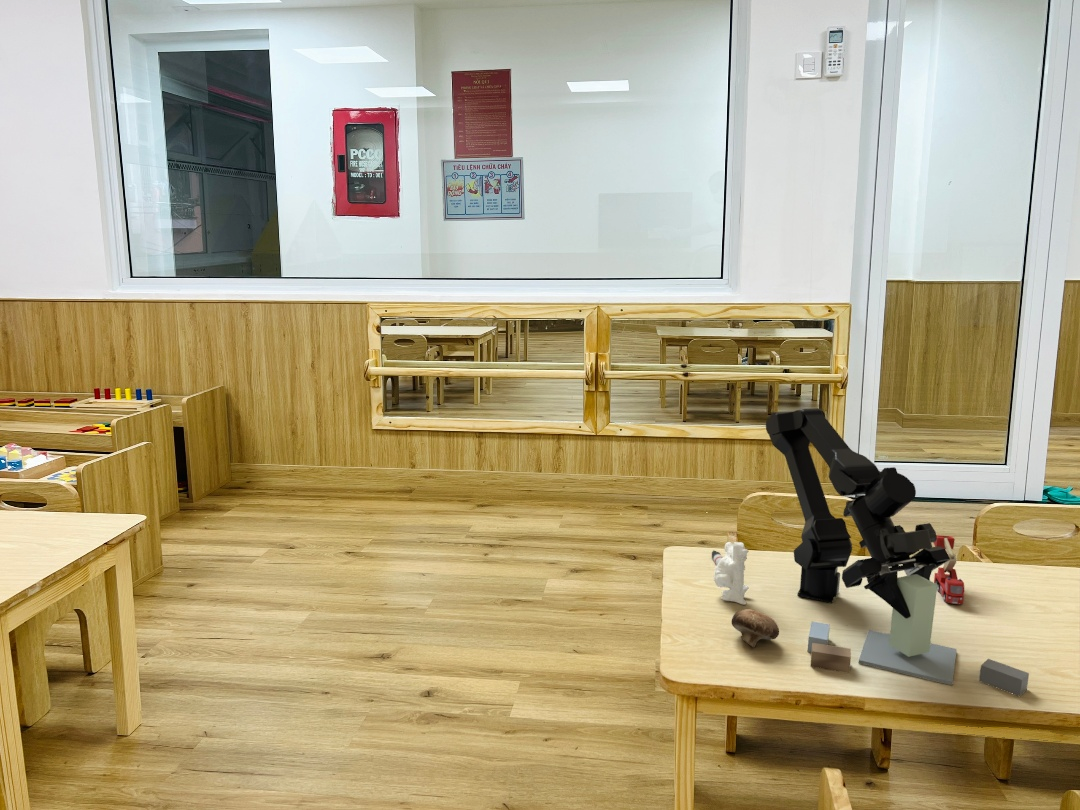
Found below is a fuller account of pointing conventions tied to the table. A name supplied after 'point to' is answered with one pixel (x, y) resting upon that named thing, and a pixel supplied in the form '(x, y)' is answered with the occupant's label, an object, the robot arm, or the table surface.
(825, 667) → the walnut brick
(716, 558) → the marker
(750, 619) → the mushroom
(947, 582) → the toy fire truck
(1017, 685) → the charcoal brick
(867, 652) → the slate mat
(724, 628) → the table surface
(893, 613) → the sage brick
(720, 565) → the white toy figurine
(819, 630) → the dusty blue brick
